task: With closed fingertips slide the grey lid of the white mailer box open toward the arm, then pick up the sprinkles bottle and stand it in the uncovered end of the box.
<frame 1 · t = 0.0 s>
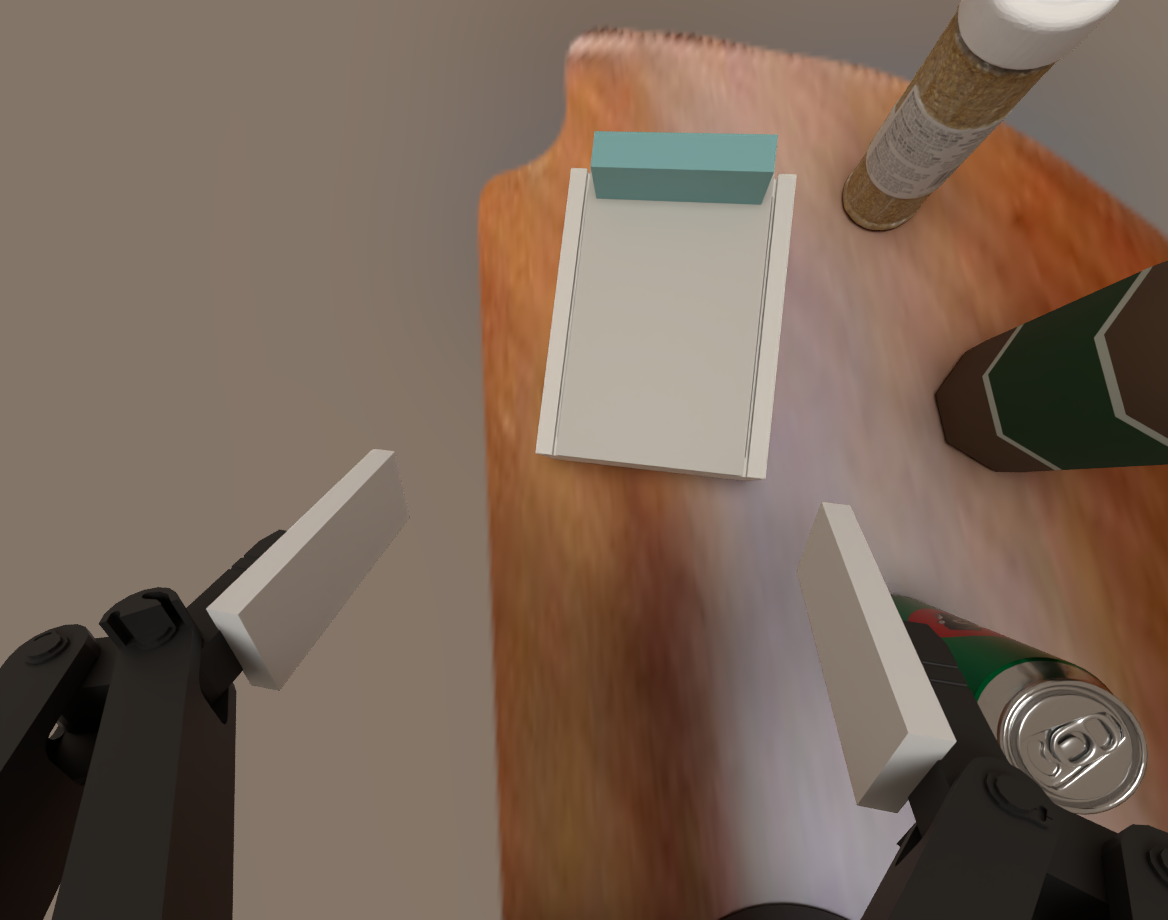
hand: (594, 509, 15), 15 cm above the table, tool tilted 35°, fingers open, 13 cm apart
lid: (664, 306, 25), point 6 cm above the table, slide at 0.0 cm
soda can: (892, 637, 28), on the table
mailer box: (661, 343, 31), on the table
sprinkles bottle: (877, 200, 30), on the table
beer bottle: (1000, 407, 28), on the table
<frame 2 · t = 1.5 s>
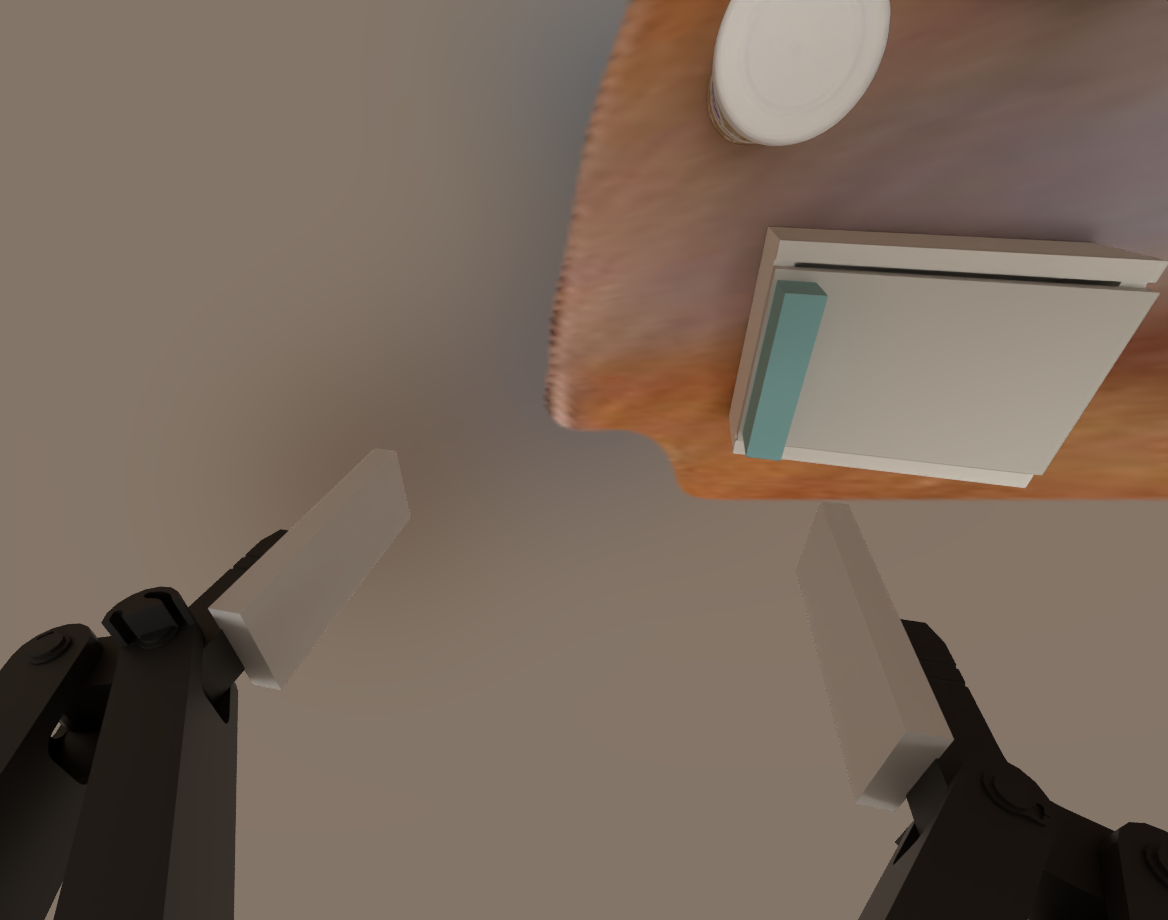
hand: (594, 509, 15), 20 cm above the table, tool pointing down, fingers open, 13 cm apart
lid: (922, 384, 24), point 6 cm above the table, slide at 0.0 cm
mailer box: (883, 342, 29), on the table
sprinkles bottle: (753, 92, 25), on the table
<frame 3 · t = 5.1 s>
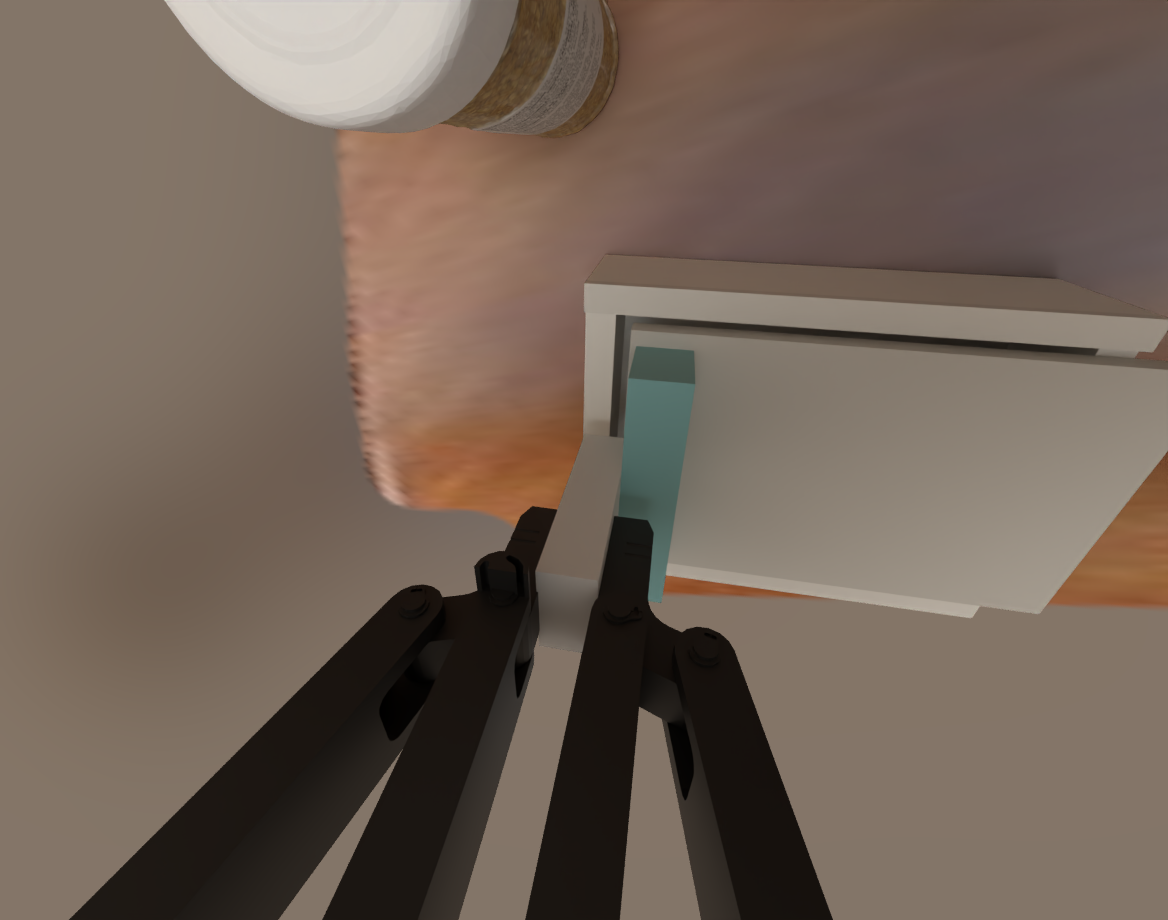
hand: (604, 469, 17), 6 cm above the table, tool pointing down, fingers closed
lid: (861, 500, 16), point 6 cm above the table, slide at 1.6 cm, touching gripper
mailer box: (780, 410, 21), on the table
sprinkles bottle: (555, 59, 16), on the table
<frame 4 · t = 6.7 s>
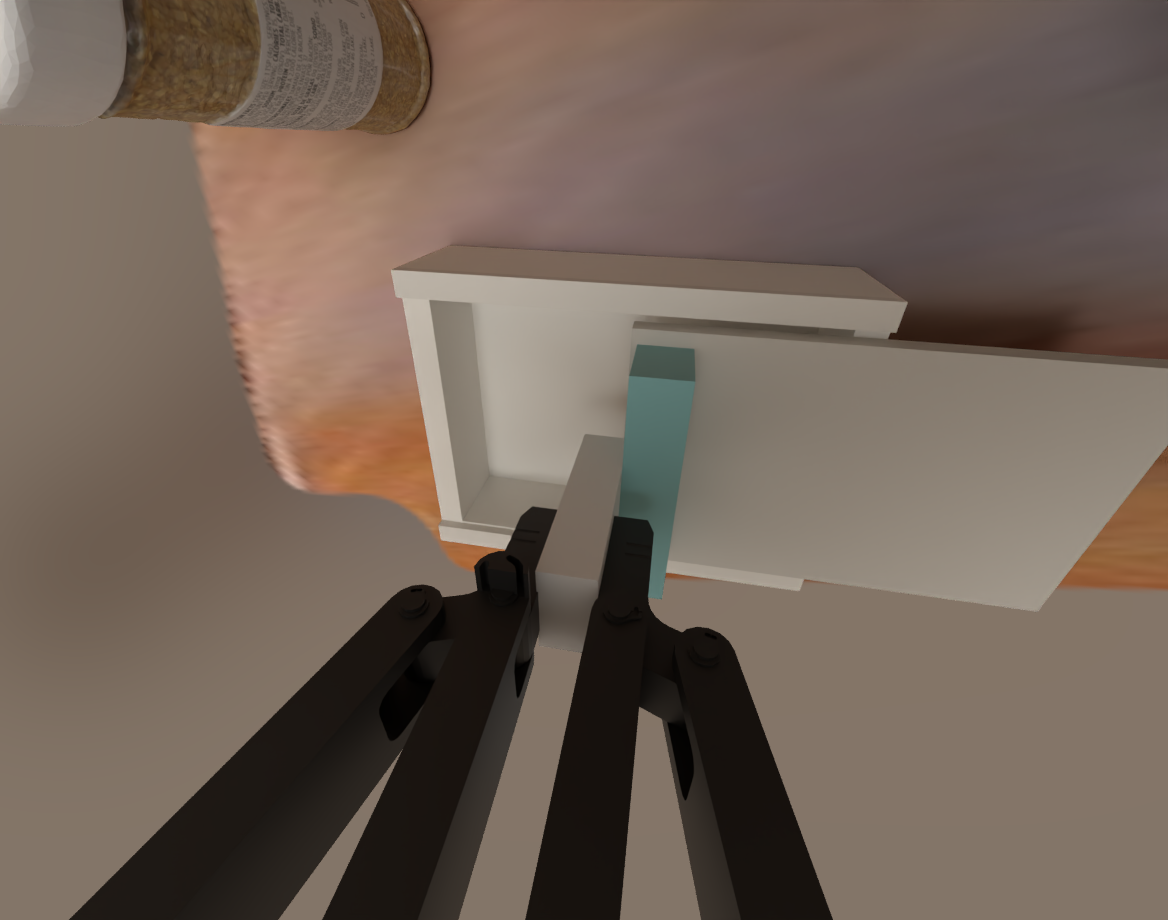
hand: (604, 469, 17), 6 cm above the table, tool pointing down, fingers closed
lid: (860, 498, 16), point 6 cm above the table, slide at 8.2 cm
mailer box: (631, 394, 22), on the table
sprinkles bottle: (378, 61, 17), on the table
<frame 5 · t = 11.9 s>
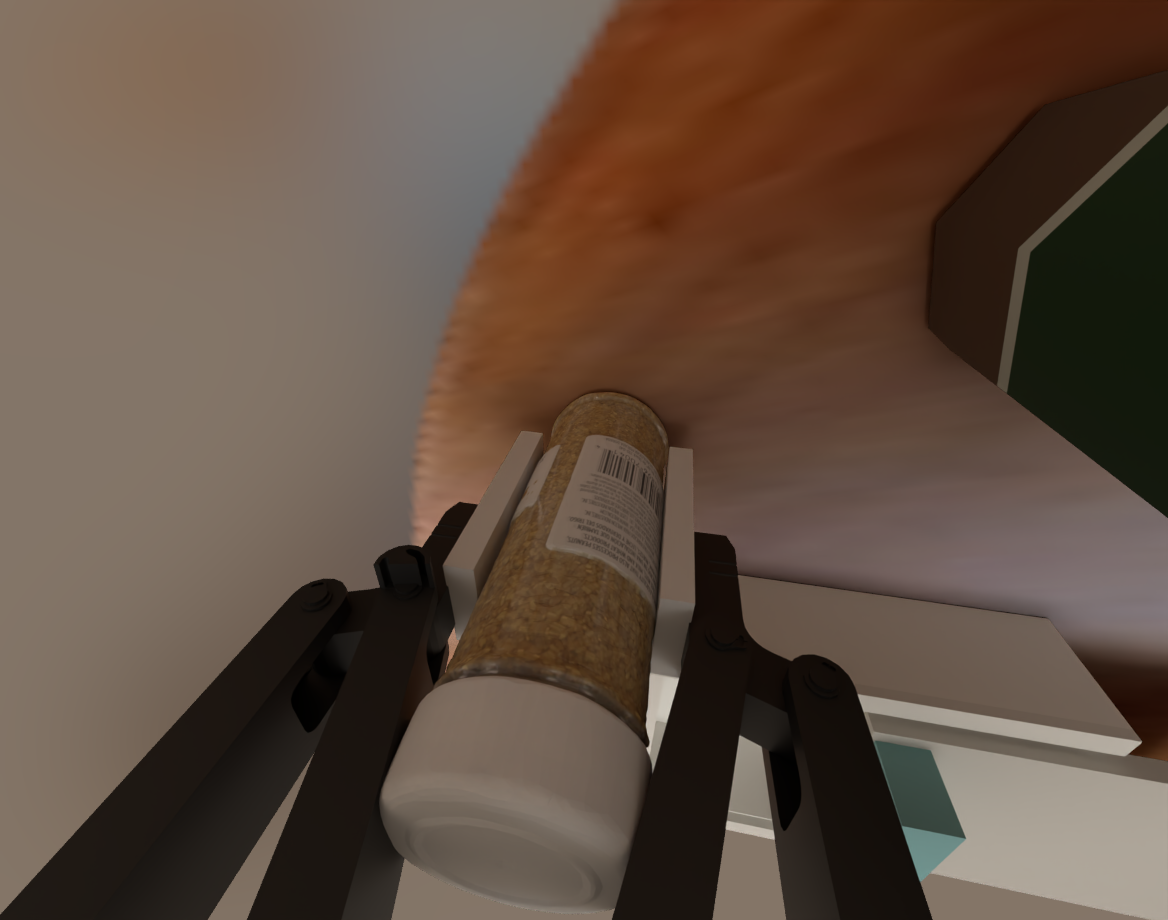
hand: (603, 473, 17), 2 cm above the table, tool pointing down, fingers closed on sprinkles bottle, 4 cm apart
lid: (1072, 869, 18), point 6 cm above the table, slide at 8.2 cm
mailer box: (801, 674, 24), on the table
sprinkles bottle: (612, 439, 19), on the table, touching gripper
beer bottle: (1072, 241, 13), on the table
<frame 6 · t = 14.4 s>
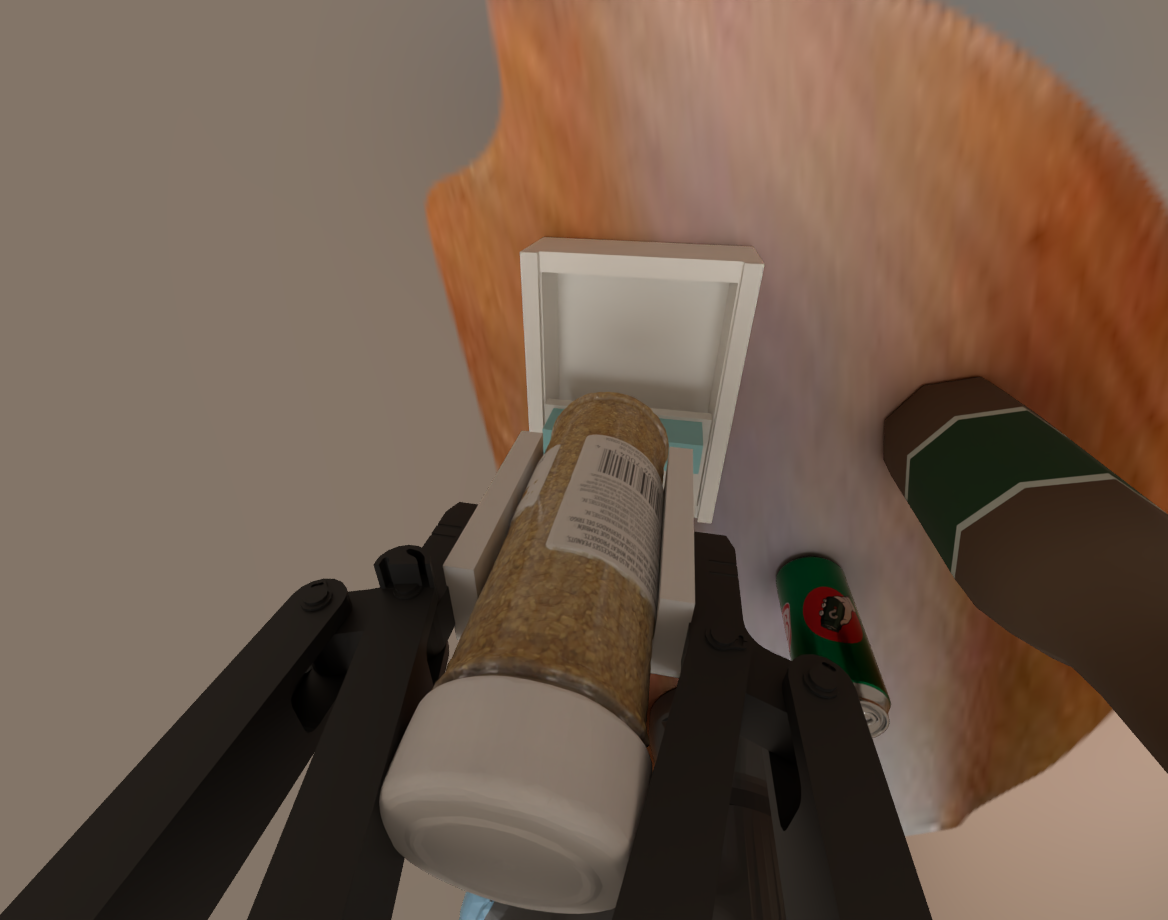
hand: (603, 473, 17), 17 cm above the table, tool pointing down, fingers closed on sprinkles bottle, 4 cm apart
lid: (617, 528, 32), point 6 cm above the table, slide at 8.2 cm
soda can: (807, 573, 39), on the table
mailer box: (635, 372, 32), on the table
sprinkles bottle: (612, 439, 19), point 14 cm above the table, touching gripper
beer bottle: (943, 428, 31), on the table
when the fingers open (5 cm above the table, at t = 16.7 s): sprinkles bottle drops 2 cm, resting on mailer box.
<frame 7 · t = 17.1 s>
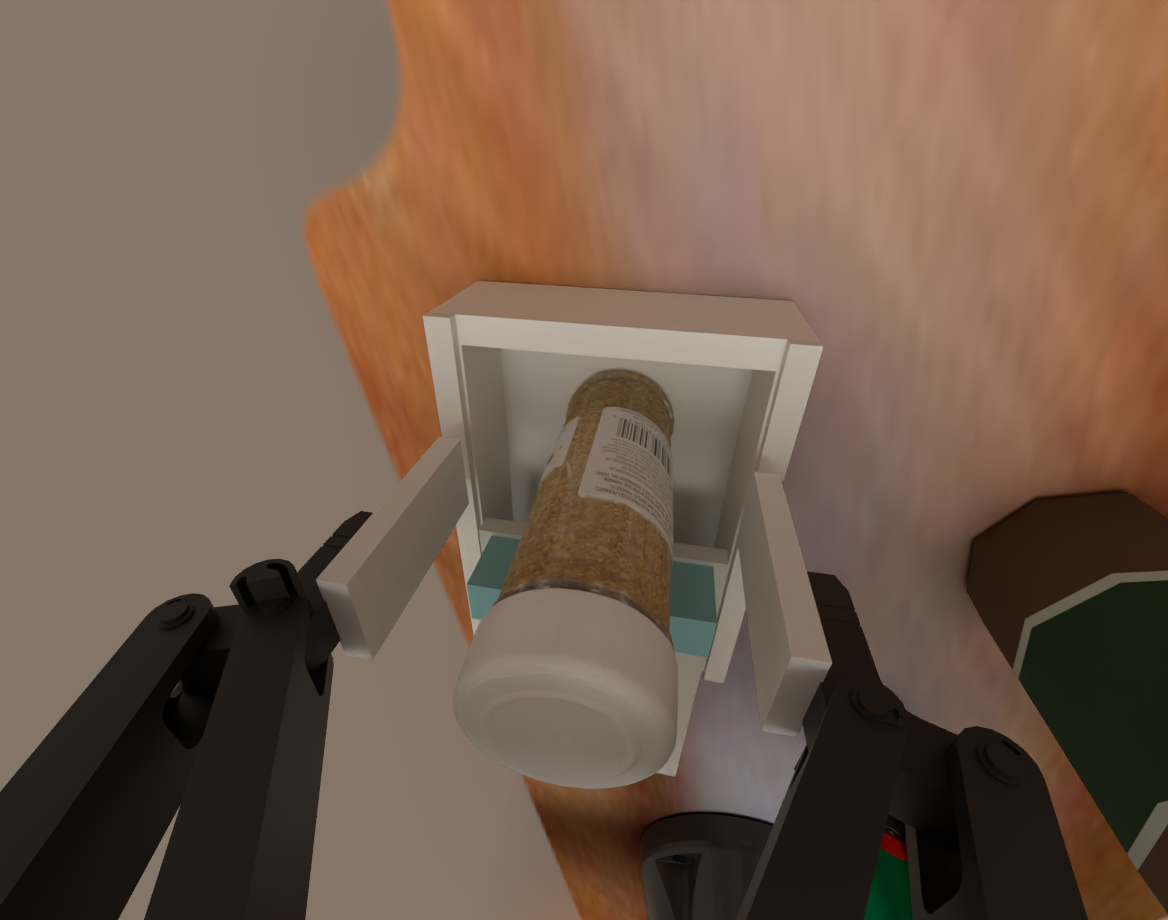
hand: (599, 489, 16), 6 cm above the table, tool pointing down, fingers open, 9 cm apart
lid: (589, 690, 22), point 6 cm above the table, slide at 8.2 cm
soda can: (846, 710, 30), on the table
mailer box: (616, 465, 23), on the table
sprinkles bottle: (621, 416, 21), point 1 cm above the table, touching mailer box
beer bottle: (1057, 553, 22), on the table
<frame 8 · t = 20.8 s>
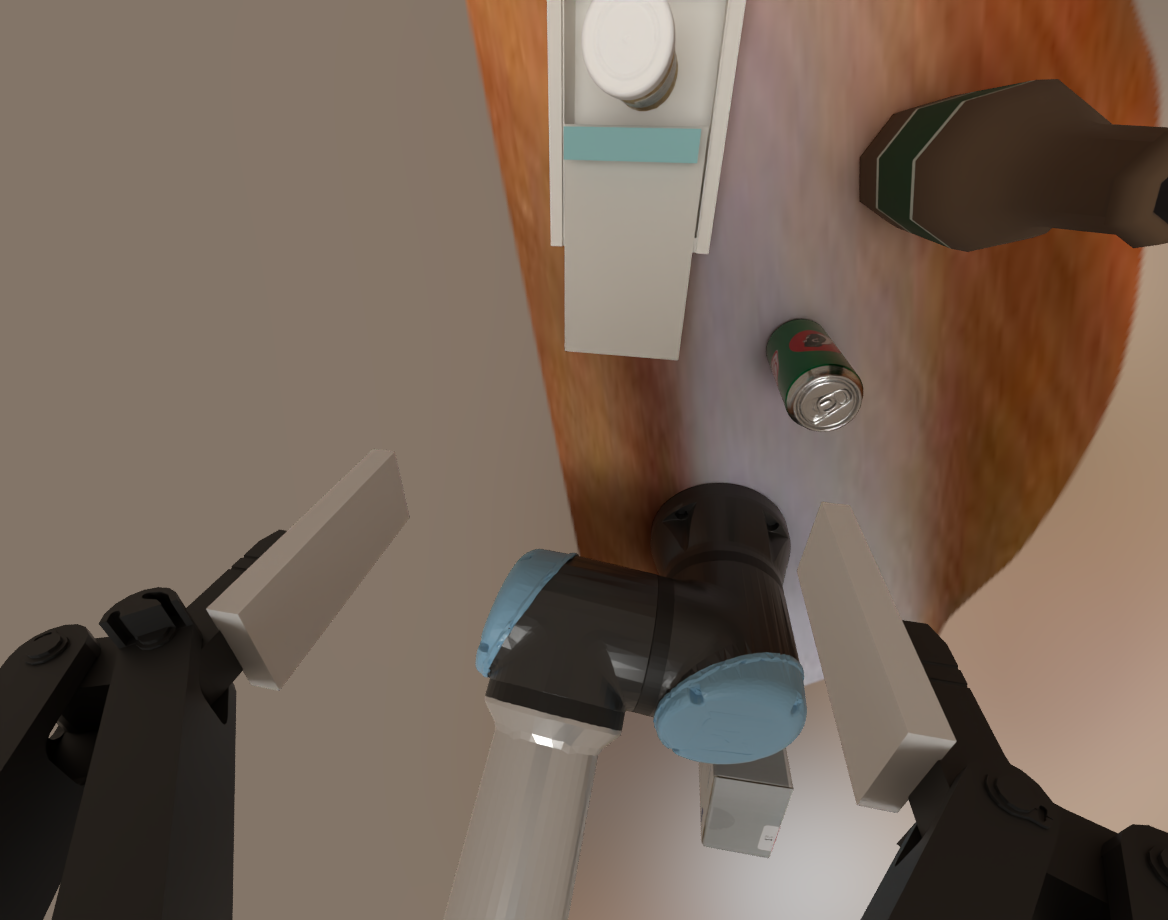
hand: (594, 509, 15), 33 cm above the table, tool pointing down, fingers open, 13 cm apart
lid: (625, 256, 36), point 6 cm above the table, slide at 8.2 cm
soda can: (795, 344, 44), on the table
hard drive box: (728, 654, 67), on the table
mailer box: (641, 124, 37), on the table
sprinkles bottle: (646, 73, 35), point 1 cm above the table, touching mailer box
beer bottle: (911, 164, 35), on the table
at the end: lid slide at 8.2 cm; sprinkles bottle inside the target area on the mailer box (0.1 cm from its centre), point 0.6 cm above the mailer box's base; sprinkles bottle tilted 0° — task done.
